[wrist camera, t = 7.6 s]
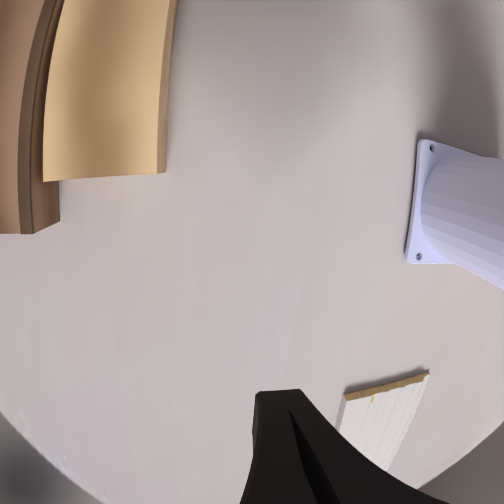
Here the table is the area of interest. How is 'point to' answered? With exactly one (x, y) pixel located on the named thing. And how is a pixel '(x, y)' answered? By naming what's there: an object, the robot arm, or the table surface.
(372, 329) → the table surface
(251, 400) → the table surface
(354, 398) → the baseboard
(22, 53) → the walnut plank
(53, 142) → the oak plank
